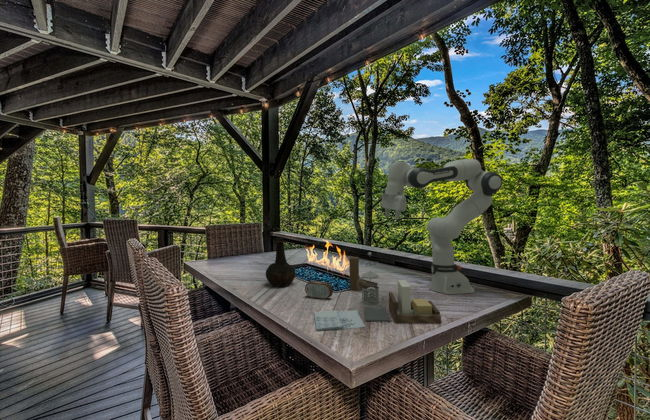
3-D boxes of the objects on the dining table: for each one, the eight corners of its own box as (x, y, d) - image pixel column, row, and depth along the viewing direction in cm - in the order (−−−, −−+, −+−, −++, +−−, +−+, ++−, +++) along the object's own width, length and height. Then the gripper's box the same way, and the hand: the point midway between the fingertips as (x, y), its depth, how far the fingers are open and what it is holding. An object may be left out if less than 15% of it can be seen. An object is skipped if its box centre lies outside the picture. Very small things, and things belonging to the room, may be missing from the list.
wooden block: (367, 289, 176) (366, 256, 176) (366, 291, 172) (365, 258, 171) (351, 288, 179) (350, 256, 178) (349, 290, 174) (349, 258, 174)
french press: (376, 308, 145) (375, 254, 144) (353, 304, 151) (352, 252, 150) (384, 302, 153) (383, 251, 152) (362, 299, 159) (361, 249, 158)
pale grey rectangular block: (405, 310, 142) (405, 279, 141) (411, 320, 131) (410, 286, 130) (398, 310, 142) (397, 279, 141) (402, 320, 131) (401, 286, 130)
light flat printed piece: (313, 314, 141) (313, 310, 141) (358, 312, 142) (358, 307, 142) (315, 332, 122) (315, 327, 122) (367, 330, 123) (367, 324, 123)
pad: (385, 309, 144) (385, 308, 144) (390, 321, 130) (390, 320, 130) (363, 309, 144) (363, 308, 144) (365, 321, 130) (365, 320, 130)
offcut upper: (425, 305, 140) (425, 298, 140) (432, 313, 131) (432, 305, 131) (412, 305, 140) (412, 299, 140) (417, 313, 131) (417, 306, 131)
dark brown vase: (280, 279, 203) (279, 235, 202) (301, 282, 192) (300, 237, 191) (259, 285, 188) (258, 238, 187) (281, 290, 178) (280, 240, 177)
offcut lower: (426, 312, 140) (426, 305, 140) (432, 320, 131) (432, 313, 131) (412, 312, 140) (412, 305, 140) (417, 320, 131) (417, 313, 131)
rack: (429, 308, 144) (429, 291, 143) (441, 323, 127) (440, 303, 126) (388, 308, 145) (388, 291, 145) (394, 323, 128) (394, 303, 128)
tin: (333, 298, 161) (332, 282, 161) (330, 300, 158) (330, 283, 158) (307, 295, 167) (306, 279, 167) (304, 297, 164) (303, 281, 164)
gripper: (410, 193, 156) (407, 221, 158) (390, 191, 176) (388, 216, 177) (399, 192, 155) (396, 220, 156) (380, 190, 174) (377, 215, 175)
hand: (391, 218), depth 167 cm, fingers open, 8 cm apart
